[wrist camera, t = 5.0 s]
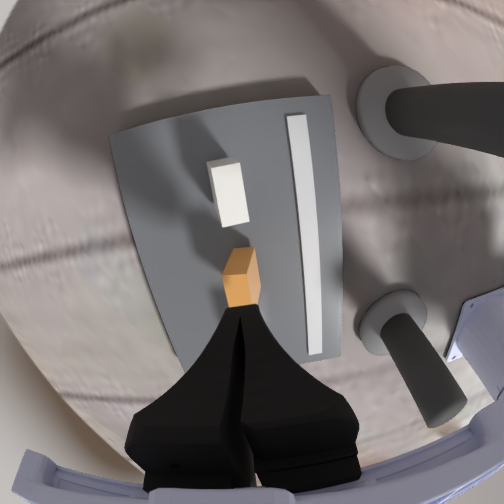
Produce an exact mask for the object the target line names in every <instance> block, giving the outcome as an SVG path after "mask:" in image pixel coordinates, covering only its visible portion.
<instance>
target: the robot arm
mask: <svg viewBox="0 0 504 504" xmlns="http://www.w3.org/2000/svg"><path fill="white" fill-rule="evenodd" d="M462 356H464V357H465V359H466V360H467V361H468V363H469V364H470V366H471V367H472V368H473V370H474V371H475V373H476V374H477V375H478V377H479V378H480V380H481V381H482V383H483V384H484V386H485V387H486V389H487V390H488V392H489V393H490V395H491V396H492V398H493V399H494V401H495V402H493V403H492V404H490V405H488V406H487V407H485V408H483V409H482V410H480V411H479V412H478V413H476V414H475V415H474V417H473V418H472V419H471V421H470V423H469V424H468V425H466V426H465V427H463V428H461V429H459V430H457V431H455V432H453V433H451V434H449V435H447V436H445V437H443V438H440V439H438V440H436V441H434V442H432V443H429V444H427V445H425V446H422V447H420V448H418V449H415V450H413V451H410V452H407V453H405V454H402V455H399V456H397V457H394V458H391V459H388V460H385V461H382V462H379V463H376V464H373V465H369V466H366V467H362V468H360V465H359V461H358V458H357V454H358V450H357V447H356V444H355V442H356V439H357V435H358V432H359V422H358V419H357V417H356V415H355V413H354V411H353V410H352V408H351V406H350V405H349V403H348V402H347V401H346V399H345V398H344V396H343V395H341V394H339V393H337V392H336V391H334V390H332V389H330V388H329V387H327V386H326V385H324V384H323V383H321V382H320V381H318V380H317V379H315V378H314V377H313V376H312V375H310V374H309V373H308V372H307V371H306V370H304V369H303V368H302V367H301V366H300V365H299V364H297V363H296V362H295V361H294V360H293V359H292V358H291V357H290V355H289V354H288V353H287V352H286V351H285V350H284V349H283V348H282V346H281V345H280V344H279V343H278V341H277V340H276V339H275V337H274V336H273V334H272V333H271V331H270V330H269V328H268V326H267V325H266V323H265V321H264V319H263V317H262V315H261V313H260V310H259V305H257V304H250V305H243V306H236V307H228V308H226V309H225V311H224V313H223V316H222V318H221V320H220V322H219V324H218V326H217V328H216V330H215V332H214V333H213V335H212V337H211V339H210V340H209V342H208V344H207V345H206V347H205V348H204V350H203V351H202V353H201V354H200V356H199V357H198V358H197V360H196V361H195V362H194V364H193V365H192V366H191V367H190V369H189V370H188V371H187V372H186V373H185V374H184V375H183V376H182V377H181V379H180V380H179V381H178V382H177V383H176V384H175V385H174V386H172V387H171V388H170V389H169V390H168V391H167V392H166V393H164V394H163V395H162V396H161V397H159V398H158V399H157V400H155V401H154V402H153V403H151V404H150V405H148V406H147V407H145V408H144V409H142V410H141V411H139V412H137V413H136V414H134V416H133V419H132V421H131V424H130V427H129V431H128V434H127V438H126V442H125V447H124V448H125V452H126V453H127V454H128V455H129V457H130V458H131V459H132V460H133V461H134V462H135V463H137V464H138V465H139V466H140V467H141V468H142V469H143V470H144V471H145V477H144V483H143V484H139V483H132V482H125V481H119V480H114V479H108V478H104V477H99V476H95V475H91V474H87V473H82V472H79V471H75V470H71V469H68V468H64V467H61V466H58V465H56V464H55V463H54V462H53V461H52V460H51V459H50V458H48V457H46V456H45V455H42V454H40V453H37V452H34V451H31V450H28V449H26V451H25V454H24V456H23V459H22V461H21V464H20V466H19V469H18V472H17V475H16V477H15V480H14V483H13V486H12V489H11V490H12V492H13V493H15V494H17V495H18V496H19V497H21V498H23V499H24V500H26V501H27V502H29V503H31V504H444V503H446V502H448V501H450V500H452V499H453V498H455V497H457V496H459V495H460V494H462V493H464V492H465V491H467V490H469V489H470V488H472V487H474V486H475V485H477V484H478V483H480V482H482V481H483V480H484V479H486V478H488V477H489V476H491V475H492V474H494V473H495V472H496V471H497V470H499V469H500V468H501V467H502V466H503V465H504V287H503V288H500V289H497V290H495V291H492V292H490V293H487V294H484V295H482V296H479V297H476V298H473V299H470V300H468V301H466V302H465V303H464V304H463V307H462V310H461V314H460V317H459V321H458V324H457V327H456V330H455V333H454V336H453V339H452V342H451V345H450V348H449V350H448V353H447V356H446V359H445V360H446V361H447V362H450V361H453V360H455V359H458V358H460V357H462ZM255 473H256V474H257V476H258V478H259V480H260V482H261V484H262V486H259V487H257V484H256V476H255Z"/></svg>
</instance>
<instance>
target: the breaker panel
mask: <svg viewBox="0 0 504 504" xmlns="http://www.w3.org/2000/svg"><path fill="white" fill-rule="evenodd" d="M108 136H109V141H110V146H111V151H112V156H113V160H114V165H115V169H116V174H117V178H118V182H119V186H120V190H121V194H122V198H123V202H124V205H125V209H126V213H127V216H128V220H129V223H130V227H131V230H132V233H133V237H134V240H135V243H136V247H137V250H138V253H139V256H140V259H141V262H142V265H143V268H144V271H145V274H146V277H147V280H148V283H149V286H150V288H151V291H152V294H153V297H154V299H155V302H156V305H157V307H158V310H159V313H160V315H161V318H162V320H163V323H164V325H165V328H166V330H167V333H168V335H169V338H170V340H171V342H172V345H173V347H174V350H175V352H176V354H177V357H178V359H179V361H180V363H181V366H182V368H183V370H184V372H185V373H186V372H187V371H188V370H189V369H190V367H191V366H192V365H193V364H194V362H195V361H196V360H197V358H198V357H199V356H200V354H201V353H202V351H203V350H204V348H205V347H206V345H207V344H208V342H209V340H210V339H211V337H212V335H213V333H214V332H215V330H216V328H217V326H218V324H219V322H220V320H221V318H222V316H223V313H224V311H225V309H226V308H228V307H229V305H228V301H227V297H226V293H225V288H224V284H223V280H222V273H223V271H224V269H225V266H226V264H227V262H228V260H229V257H230V255H231V253H232V251H233V248H243V247H255V252H256V258H257V264H258V271H259V277H260V283H261V289H260V295H259V300H258V305H259V310H260V313H261V315H262V317H263V319H264V321H265V323H266V325H267V326H268V328H269V330H270V331H271V333H272V334H273V336H274V337H275V339H276V340H277V341H278V343H279V344H280V345H281V346H282V348H283V349H284V350H285V351H286V352H287V353H288V354H289V355H290V357H291V358H292V359H293V360H294V361H295V362H296V363H297V364H303V363H308V362H314V361H319V360H324V359H329V358H333V357H338V356H340V352H341V333H342V303H343V247H342V217H341V198H340V183H339V170H338V158H337V148H336V138H335V129H334V121H333V113H332V106H331V99H330V95H318V96H302V97H290V98H280V99H271V100H262V101H255V102H248V103H241V104H234V105H228V106H222V107H217V108H212V109H206V110H201V111H197V112H192V113H187V114H183V115H179V116H174V117H170V118H166V119H162V120H158V121H155V122H151V123H147V124H144V125H140V126H137V127H133V128H130V129H127V130H123V131H120V132H117V133H114V134H111V135H108ZM229 157H230V158H232V159H234V160H236V161H238V162H240V166H241V172H242V179H243V185H244V191H245V197H246V203H247V209H248V215H249V221H250V222H246V223H241V224H236V225H232V226H227V227H223V228H222V225H221V223H220V220H219V217H218V215H217V212H216V209H215V204H214V199H213V194H212V189H211V184H210V178H209V173H208V168H207V163H206V162H208V161H213V160H218V159H223V158H229Z"/></svg>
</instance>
